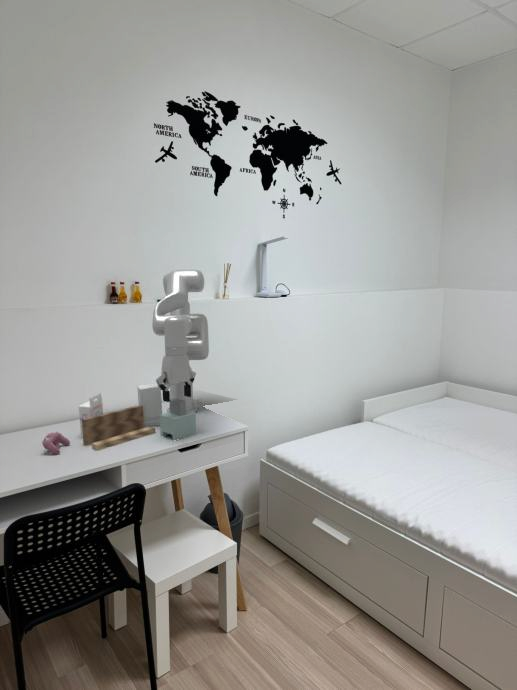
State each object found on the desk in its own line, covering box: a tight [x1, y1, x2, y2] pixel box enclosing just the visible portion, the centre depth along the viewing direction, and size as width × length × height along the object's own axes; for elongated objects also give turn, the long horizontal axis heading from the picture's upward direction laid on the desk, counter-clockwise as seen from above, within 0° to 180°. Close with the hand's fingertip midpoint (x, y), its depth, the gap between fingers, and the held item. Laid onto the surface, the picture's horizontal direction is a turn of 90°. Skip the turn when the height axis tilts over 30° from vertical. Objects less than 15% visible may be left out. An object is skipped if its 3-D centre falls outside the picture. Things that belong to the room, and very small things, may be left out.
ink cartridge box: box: [78, 392, 104, 438], centre depth 183 cm, size 9×5×15 cm, turn 168°
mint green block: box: [159, 398, 197, 441], centre depth 181 cm, size 10×8×13 cm
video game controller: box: [41, 431, 71, 456], centre depth 168 cm, size 10×5×7 cm, turn 178°
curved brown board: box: [82, 404, 156, 451], centre depth 178 cm, size 24×9×9 cm, turn 138°
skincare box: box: [136, 382, 163, 428], centre depth 194 cm, size 8×7×16 cm
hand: (177, 398), depth 180 cm, fingers open, 9 cm apart
